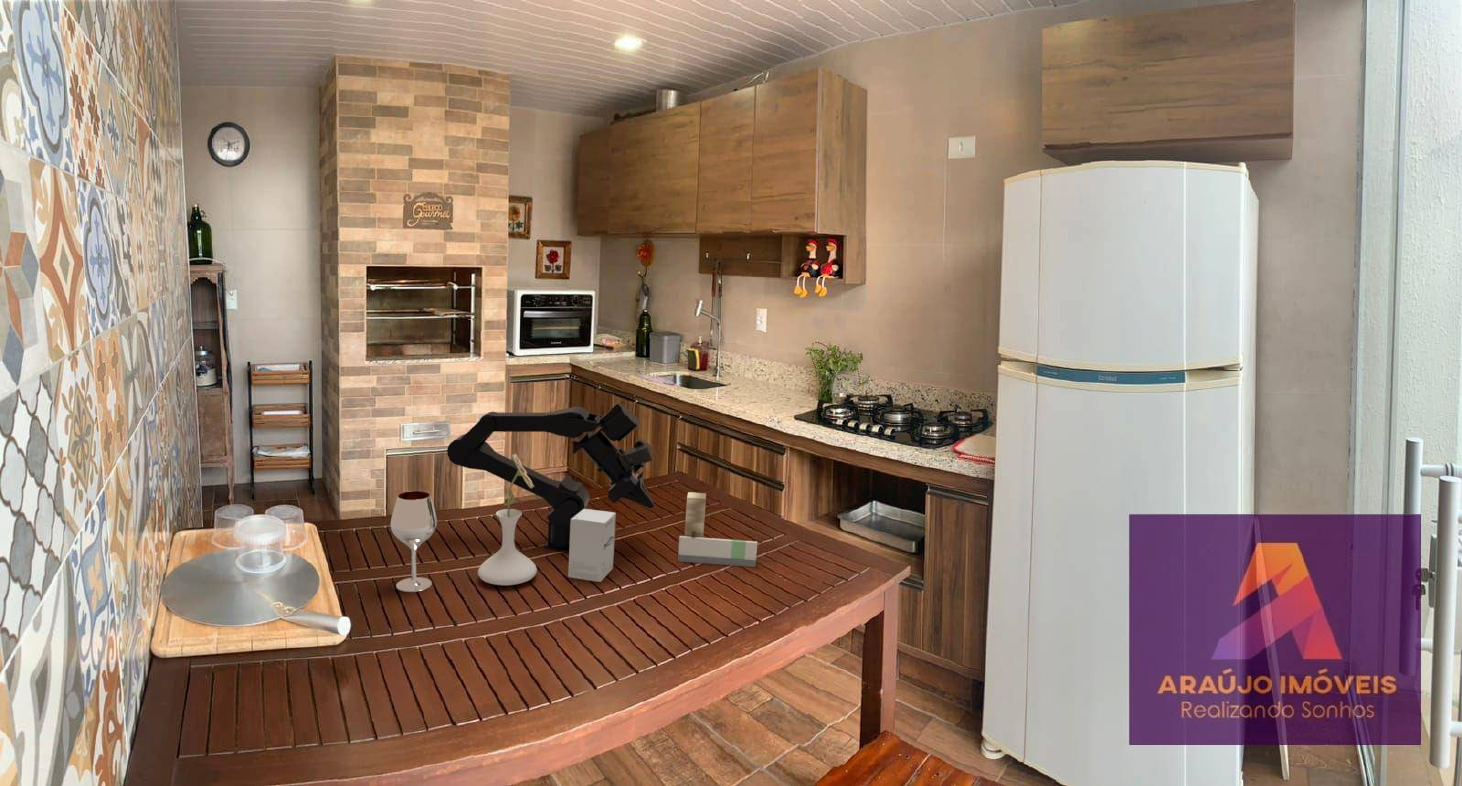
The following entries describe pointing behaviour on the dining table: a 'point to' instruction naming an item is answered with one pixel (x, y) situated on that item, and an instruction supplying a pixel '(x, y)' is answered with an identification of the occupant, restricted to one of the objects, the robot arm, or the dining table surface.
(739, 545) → the board
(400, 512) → the wineglass
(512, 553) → the flower in vase
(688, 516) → the beige brown box
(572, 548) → the supplement box
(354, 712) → the dining table surface
